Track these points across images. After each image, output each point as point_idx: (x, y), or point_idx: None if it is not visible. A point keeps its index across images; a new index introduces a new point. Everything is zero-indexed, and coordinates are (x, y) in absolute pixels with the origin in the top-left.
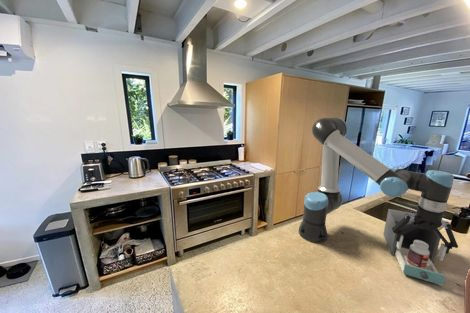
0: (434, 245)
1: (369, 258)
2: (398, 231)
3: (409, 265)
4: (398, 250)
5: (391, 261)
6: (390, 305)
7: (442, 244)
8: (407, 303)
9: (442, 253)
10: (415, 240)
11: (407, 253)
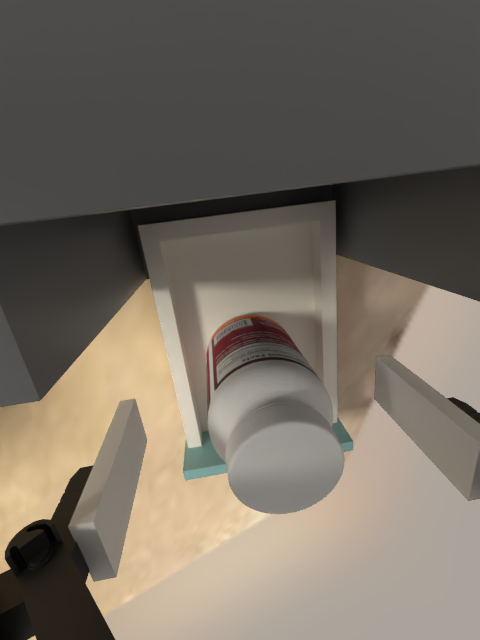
0: (415, 267)
1: None
2: (31, 625)
3: (204, 473)
4: (162, 288)
5: (141, 348)
6: (149, 579)
7: (476, 468)
8: (195, 545)
9: (414, 440)
10: (245, 453)
11: (221, 245)
